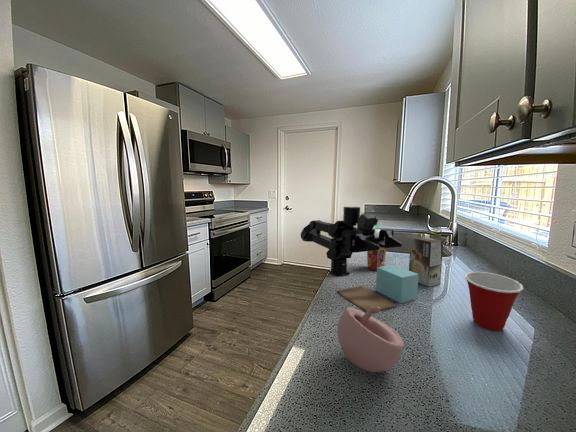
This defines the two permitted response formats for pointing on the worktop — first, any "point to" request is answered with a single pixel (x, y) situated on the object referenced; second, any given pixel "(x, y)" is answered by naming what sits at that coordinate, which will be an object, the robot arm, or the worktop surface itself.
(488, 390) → the worktop surface
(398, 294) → the light blue block
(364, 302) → the walnut board
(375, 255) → the smoothie
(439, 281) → the coffee box
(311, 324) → the worktop surface
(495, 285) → the plastic cup
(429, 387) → the worktop surface
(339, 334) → the mortar and pestle
